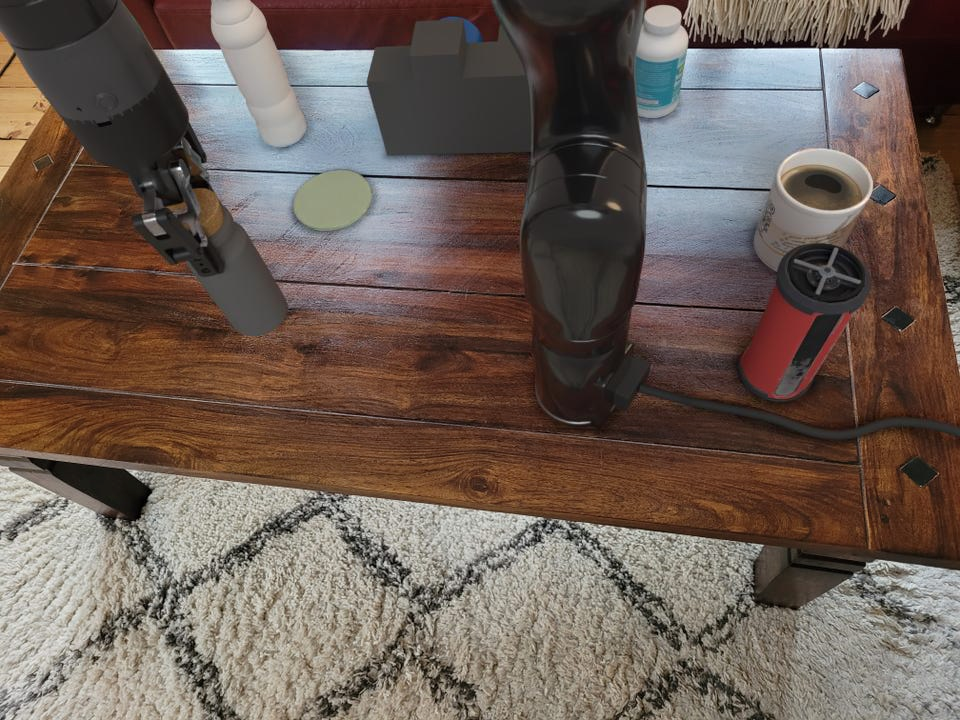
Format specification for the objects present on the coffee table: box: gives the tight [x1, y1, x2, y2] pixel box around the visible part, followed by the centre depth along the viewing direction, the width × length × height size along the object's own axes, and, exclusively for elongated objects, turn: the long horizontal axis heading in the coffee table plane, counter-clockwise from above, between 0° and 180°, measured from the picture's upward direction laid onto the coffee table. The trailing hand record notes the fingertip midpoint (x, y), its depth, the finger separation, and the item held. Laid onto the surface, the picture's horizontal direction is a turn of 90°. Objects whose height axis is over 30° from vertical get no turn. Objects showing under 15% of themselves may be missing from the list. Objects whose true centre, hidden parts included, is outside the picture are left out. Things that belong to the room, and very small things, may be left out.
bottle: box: [168, 188, 288, 338], centre depth 63 cm, size 6×6×15 cm
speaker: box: [737, 243, 872, 403], centre depth 67 cm, size 8×8×18 cm
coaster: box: [292, 169, 373, 232], centre depth 95 cm, size 11×11×1 cm
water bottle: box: [210, 0, 308, 148], centre depth 93 cm, size 7×7×25 cm
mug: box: [752, 147, 874, 273], centre depth 79 cm, size 10×12×11 cm
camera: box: [365, 16, 531, 157], centre depth 95 cm, size 25×16×16 cm, turn 86°
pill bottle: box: [635, 4, 689, 119], centre depth 93 cm, size 8×7×14 cm
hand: (214, 244), depth 60 cm, fingers closed on bottle, 5 cm apart
